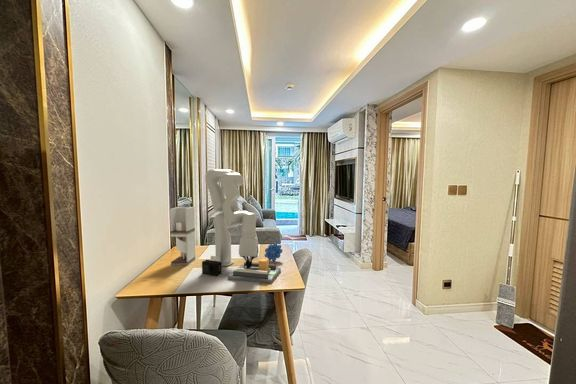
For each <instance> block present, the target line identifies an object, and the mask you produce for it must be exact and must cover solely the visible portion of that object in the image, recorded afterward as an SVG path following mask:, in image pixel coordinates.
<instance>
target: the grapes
mask: <svg viewBox="0 0 576 384" xmlns="http://www.w3.org/2000/svg"><path fill="white" fill-rule="evenodd" d="M264 252H265V253H264V257H265V258H266V259H269V262H271V261H272V262H275V261H277V259H280V258H281V254H282V253H283V249H282V245H281V244H278V243H277V242H273V244H272V243H270V244H268V246H267V248H265V249H264Z"/></svg>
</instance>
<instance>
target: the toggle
mask: <svg viewBox="0 0 576 384" xmlns="http://www.w3.org/2000/svg"><path fill="white" fill-rule="evenodd" d="M258 263H259V270H260V271H268V273H269V272H270V271H271V270H269V264H270V261H269V259H267V258H266V257H265V258H260V259H259V260H258Z"/></svg>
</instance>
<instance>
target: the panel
mask: <svg viewBox="0 0 576 384" xmlns="http://www.w3.org/2000/svg"><path fill="white" fill-rule="evenodd" d="M237 268H238V269H248V268H246V266H245V267H244V264H241V265H240V266H238V267H237ZM237 268H236V269H235V270H237ZM249 270H259V267H251V268H249ZM269 270H271V271H270V272H269V273H268V278H258V277H248V276H238V275H233V271H231V272H230V273H228V274H227V280H233V281H243V282H254V283H262V284H263V283H264V284H272V283H273V281H275V279H276V278H277V277H278V276H279V274H280V273H281V271H282V269H281V267H276V269H271V268H269Z"/></svg>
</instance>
